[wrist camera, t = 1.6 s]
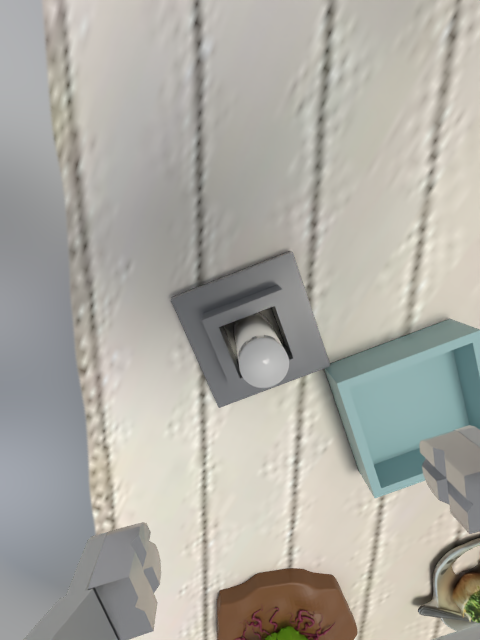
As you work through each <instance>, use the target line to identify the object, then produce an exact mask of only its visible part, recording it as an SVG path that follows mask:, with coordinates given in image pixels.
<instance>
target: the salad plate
mask: <svg viewBox="0 0 480 640" xmlns="http://www.w3.org/2000/svg"><path fill="white" fill-rule="evenodd" d="M477 546H480V538H477V539H474V540H472V541H469V542H467V543H465V544H462V545H460V546H458V547H455V548H453V549H451V550H450V551H448V552H447V553H446V554H445V555H444V556H443V557H442V558H441V559H440V561H439V562H438V563H437V565H436V567H435V569H434V573H433V587H434V591H433V598H432V600H431V601H430V602H428V603H426V604H423V605H421V606H420V607H419V609H418V612H419V614H421V615H424V616H432V617H439V618H441V620H442V621H443V622H444V623H445V625H447V626H448V627H450V628H451V629H453V630H455V631H460V630H463V629H466V628H469V627H472V626H475V625H479V624H480V562H479V563H478V565H477V566H475V567H474V568H472V569H471V570H469V571H463V572H462V573H461V574H459V575H456V574H455V573H454V572H453V569H452V567H451V565H452V564H453V563H454V562H455V561H456V559H457V558H459V557H460V556H461V555H462V554H464V553H465V552H466V551H468V550H470V549H472V548H474V547H477Z"/></svg>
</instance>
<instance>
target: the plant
mask: <svg viewBox="0 0 480 640" xmlns="http://www.w3.org/2000/svg"><path fill="white" fill-rule="evenodd" d="M217 618H218V620H217V640H354V638H355V637H356V636H357V626H356V623H355V620H354V617H353V615H352V613H351V611H350V608H349V606H348V604H347V602H346V600H345V598H344V596H343V593H342V591H341V588H340V586H339V584H338V582H337V580H336V579H335V577H334V576H333V575H330V574H320V573H313V572H309V571H307V570H304V569H294V568H289V569H282V570H276V571H269V572H262V573H258V574H256V575H254V576H253V577H252V578H250V579H249V580H248V581H246V582H245V583H242V584H240V585H237V586H234V587H231V588H228V589H223V590H220V592H219V597H218V599H217Z"/></svg>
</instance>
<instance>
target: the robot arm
mask: <svg viewBox="0 0 480 640" xmlns="http://www.w3.org/2000/svg"><path fill="white" fill-rule="evenodd" d="M419 447H420V453H421V454H422V455H423V456H424V457H425V460H424V462H423V464H422V469H423V475H424V478H425V480H426V482H427V485H428V486H429V488H430V489H431V491H432V493H433V494H434V495H435V496H436V497H437V498H438V499H439V500H440V501H442V502H445V503H447V504H449V505H450V512H451V514H452V515H453V516H454V517H455V518H456V520H457V521H458V522H459V523H460V524H461V525H462V526H463V527H464V528H465V530H466V531H467V532H468V533H469V534H471V533H475V532H479V531H480V430H479V429H478V428H476V427H475V426H471V425H468V426H465V427H462V428H459V429H456V430H453V431H450V432H447V433H444V434H440V435H437V436H434V437H431V438H427V439H424V440H421V441H420V444H419ZM150 533H151V532H150V530H149V528H148V526H147V523H144V522H142V523H138V524H135V525H131V526H127V527H124V528H120V529H116V530H112V531H109V532H106V533H103V534H99V535H95V536H92V537H91V538H90V539H89V540H88V541H87V544H86V546H85V548H84V551H83V553H82V556H81V558H80V561H79V564H78V566H77V569H76V571H75V574H74V577H73V579H72V581H71V584H70V586H69V589H68V592H67V594H66V597H63V598H60V599H59V600H58V601H57V602H56V603H55V604H54V606H53V607H52V608H51V609H50V610H49V611H48V612H47V613H46V615H45V616H44V617H43V618H42V619H41V620H40V621H39V623H38V624H37V625H36V626H35V627H34V628H33V629H32V630H31V632H30V633H29V634H28V635H27V636H26V637H25V638H24V639H23V640H129V639H132V638H135V637H137V636H140V635H143V634H146V633H149V632H152V631H154V624H155V616H156V609H157V600H156V598H155V595H154V592H155V591H156V589H157V588H158V586H159V585H160V578H161V563H160V557H159V552H158V549H157V547H156V545H155V544H154V543H152V542H150V541H149V539H150ZM432 640H480V624H479V625H475V626H472V627H469V628H466V629H463V630H460V631H457V632H454V633H450V634H447V635H444V636H441V637H438V638H435V639H432Z"/></svg>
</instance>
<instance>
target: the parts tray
mask: <svg viewBox="0 0 480 640" xmlns="http://www.w3.org/2000/svg"><path fill="white" fill-rule="evenodd" d="M324 370H325V373H326V376H327V379H328V381H329V384H330V387H331V390H332V393H333V396H334V399H335V402H336V405H337V408H338V411H339V414H340V417H341V420H342V423H343V426H344V429H345V432H346V435H347V438H348V441H349V444H350V446H351V449H352V452H353V455H354V458H355V461H356V464H357V467H358V470H359V472H360V474H361V475H362V477H363V479H364V481H365V482H366V484H367V486H368V487H369V489H370V491H371V492H372V494H373V496H374V498H377V497H380V496H383V495H386V494H388V493H391V492H394V491H397V490H400V489H402V488H405V487H408V486H411V485H414V484H416V483H419V482H422V481H425V478H424V475H423V469H422V464H423V462H424V460H425V457H424V456H423V455H422V454H421V453H420V447H419V444H420V441H421V440H424V439H427V438H431V437H434V436H437V435H440V434H444V433H447V432H450V431H453V430H456V429H459V428H462V427H465V426H468V425H471V426H475V427H476V428H478V429H479V430H480V330H479V329H477V328H474V327H471V326H468V325H466V324H463V323H460V322H457V321H455V320H452V319H448V320H446V321H443V322H440V323H438V324H435V325H432V326H430V327H427V328H424V329H422V330H419V331H416V332H414V333H411V334H408V335H406V336H403V337H400V338H398V339H395V340H392V341H390V342H387V343H384V344H382V345H379V346H376V347H374V348H371V349H368V350H366V351H363V352H360V353H358V354H355V355H352V356H350V357H347V358H344V359H342V360H339V361H336V362H334V363H331V364H330V366H329V367H327V368H324Z"/></svg>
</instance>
